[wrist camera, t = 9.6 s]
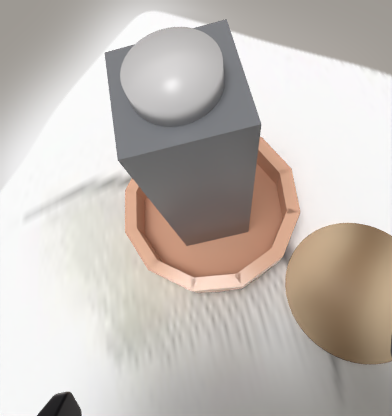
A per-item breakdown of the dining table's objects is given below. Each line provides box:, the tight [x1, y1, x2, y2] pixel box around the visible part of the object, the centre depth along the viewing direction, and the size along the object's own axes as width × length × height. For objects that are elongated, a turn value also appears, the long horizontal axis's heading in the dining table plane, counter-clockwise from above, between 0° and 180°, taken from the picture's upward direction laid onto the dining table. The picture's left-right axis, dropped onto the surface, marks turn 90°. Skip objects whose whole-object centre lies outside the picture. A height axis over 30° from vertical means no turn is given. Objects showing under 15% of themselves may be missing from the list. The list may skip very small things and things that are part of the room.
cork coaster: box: [285, 223, 392, 364], centre depth 20 cm, size 9×9×1 cm
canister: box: [105, 20, 261, 246], centre depth 16 cm, size 4×4×14 cm
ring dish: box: [125, 137, 300, 293], centre depth 22 cm, size 12×12×3 cm
